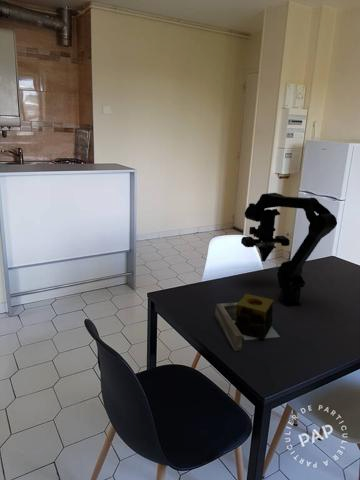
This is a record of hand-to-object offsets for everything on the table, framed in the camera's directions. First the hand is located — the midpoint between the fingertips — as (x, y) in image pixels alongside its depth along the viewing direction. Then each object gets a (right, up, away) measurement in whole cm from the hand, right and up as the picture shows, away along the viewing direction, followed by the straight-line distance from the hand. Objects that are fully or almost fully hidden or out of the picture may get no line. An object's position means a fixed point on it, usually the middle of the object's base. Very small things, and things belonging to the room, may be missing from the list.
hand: (263, 261), depth 152 cm
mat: (-9, -21, -28) cm, 36 cm away
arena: (-10, -21, -29) cm, 37 cm away
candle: (-10, -21, -29) cm, 37 cm away
